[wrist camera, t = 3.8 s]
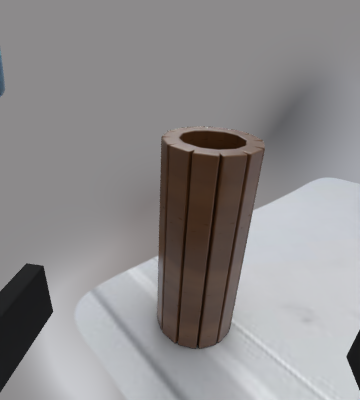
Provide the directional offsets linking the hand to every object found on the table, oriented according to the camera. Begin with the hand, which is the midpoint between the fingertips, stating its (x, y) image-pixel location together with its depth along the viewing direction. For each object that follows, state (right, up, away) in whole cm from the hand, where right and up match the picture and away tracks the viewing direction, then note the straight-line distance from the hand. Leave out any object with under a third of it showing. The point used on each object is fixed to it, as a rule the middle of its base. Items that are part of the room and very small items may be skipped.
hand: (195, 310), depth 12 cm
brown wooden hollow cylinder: (0, -4, +10) cm, 11 cm away
